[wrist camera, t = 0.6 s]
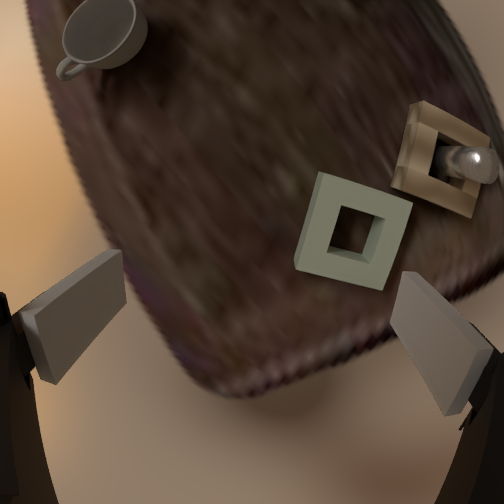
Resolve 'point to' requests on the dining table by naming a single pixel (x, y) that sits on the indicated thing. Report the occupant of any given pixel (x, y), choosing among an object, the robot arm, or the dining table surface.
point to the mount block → (421, 152)
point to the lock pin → (466, 163)
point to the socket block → (378, 242)
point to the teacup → (102, 36)
